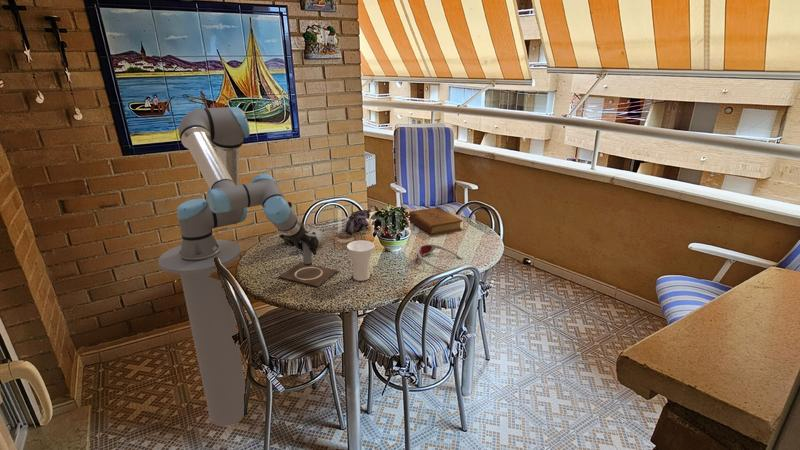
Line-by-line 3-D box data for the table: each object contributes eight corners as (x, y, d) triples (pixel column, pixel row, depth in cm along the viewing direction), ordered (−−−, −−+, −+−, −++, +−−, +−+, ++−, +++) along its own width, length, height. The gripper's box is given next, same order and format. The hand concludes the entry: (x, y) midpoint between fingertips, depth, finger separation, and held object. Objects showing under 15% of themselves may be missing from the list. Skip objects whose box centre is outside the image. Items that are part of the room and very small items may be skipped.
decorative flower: (343, 207, 211) (370, 201, 208) (351, 225, 217) (378, 218, 214) (338, 224, 199) (366, 217, 196) (347, 242, 206) (375, 236, 202)
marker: (301, 265, 157) (299, 236, 153) (307, 261, 160) (304, 233, 156) (309, 266, 156) (306, 237, 152) (314, 263, 159) (312, 234, 155)
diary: (408, 221, 220) (408, 211, 218) (438, 216, 228) (438, 206, 226) (430, 236, 201) (430, 225, 199) (461, 230, 209) (462, 219, 207)
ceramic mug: (325, 243, 192) (323, 227, 189) (318, 250, 184) (317, 234, 182) (304, 241, 194) (302, 226, 191) (296, 248, 186) (295, 232, 184)
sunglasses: (425, 249, 185) (428, 239, 183) (460, 263, 179) (462, 253, 177) (408, 263, 171) (410, 253, 169) (445, 279, 165) (447, 268, 163)
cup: (360, 268, 167) (359, 238, 163) (380, 275, 162) (379, 244, 157) (342, 278, 159) (341, 246, 155) (363, 286, 154) (362, 253, 149)
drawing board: (279, 277, 160) (278, 276, 159) (301, 263, 172) (301, 262, 171) (317, 287, 153) (317, 285, 152) (337, 271, 165) (337, 270, 164)
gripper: (265, 235, 139) (289, 259, 160) (311, 238, 137) (329, 261, 158) (270, 215, 142) (293, 241, 163) (315, 218, 140) (332, 243, 161)
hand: (310, 251), depth 161 cm, fingers closed on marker, 3 cm apart
